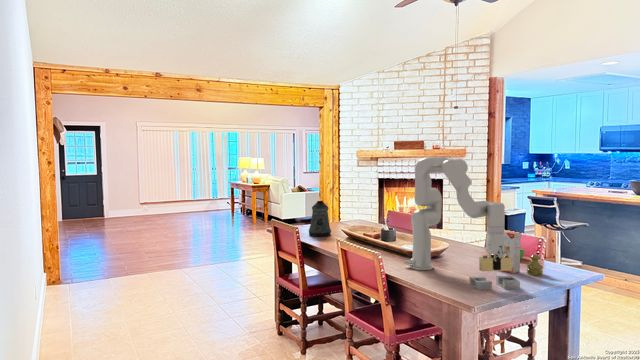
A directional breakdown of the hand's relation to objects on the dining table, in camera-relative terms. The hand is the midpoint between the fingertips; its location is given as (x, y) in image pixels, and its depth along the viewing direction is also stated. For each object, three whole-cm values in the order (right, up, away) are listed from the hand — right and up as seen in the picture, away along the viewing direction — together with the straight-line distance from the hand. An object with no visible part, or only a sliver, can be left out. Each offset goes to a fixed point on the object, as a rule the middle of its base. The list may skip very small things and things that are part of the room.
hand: (495, 268), depth 212 cm
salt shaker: (+28, -7, +21) cm, 36 cm away
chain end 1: (-7, -9, +1) cm, 11 cm away
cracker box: (+16, -7, +29) cm, 34 cm away
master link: (0, -1, 0) cm, 1 cm away
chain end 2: (+6, -9, +1) cm, 11 cm away
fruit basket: (+31, -5, +53) cm, 61 cm away
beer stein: (-81, 0, +127) cm, 151 cm away
